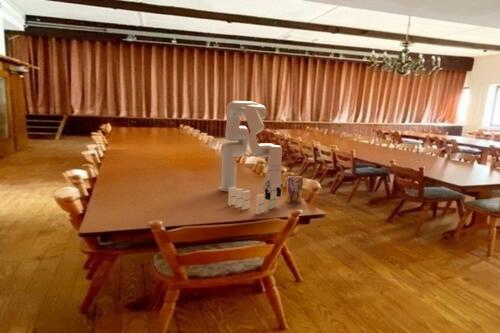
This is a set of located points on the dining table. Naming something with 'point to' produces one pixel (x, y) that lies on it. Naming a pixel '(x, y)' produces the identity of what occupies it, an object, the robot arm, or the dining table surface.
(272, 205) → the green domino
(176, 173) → the dining table surface
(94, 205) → the dining table surface
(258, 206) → the domino
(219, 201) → the dining table surface
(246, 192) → the domino
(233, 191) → the domino
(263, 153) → the robot arm
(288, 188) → the candy box
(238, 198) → the domino
